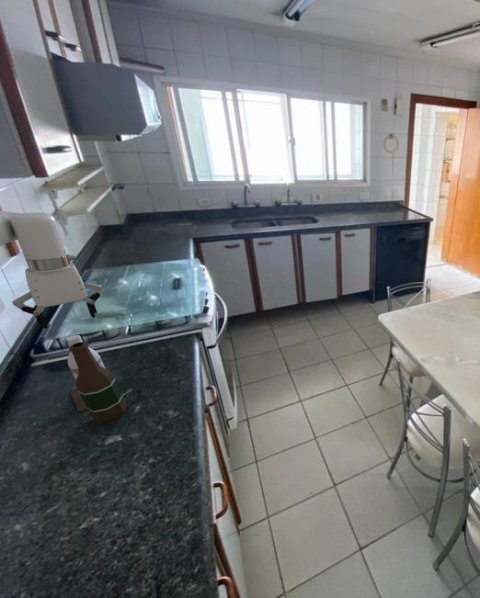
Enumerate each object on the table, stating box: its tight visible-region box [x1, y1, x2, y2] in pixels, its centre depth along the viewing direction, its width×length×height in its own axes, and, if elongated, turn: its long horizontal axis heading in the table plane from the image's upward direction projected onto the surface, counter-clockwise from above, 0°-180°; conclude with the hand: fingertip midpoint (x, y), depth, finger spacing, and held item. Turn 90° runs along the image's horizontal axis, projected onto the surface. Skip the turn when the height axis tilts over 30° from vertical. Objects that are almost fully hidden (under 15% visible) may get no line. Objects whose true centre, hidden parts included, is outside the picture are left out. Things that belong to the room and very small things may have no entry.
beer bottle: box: [68, 341, 128, 424], centre depth 90 cm, size 8×8×24 cm
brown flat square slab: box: [70, 375, 117, 413], centre depth 102 cm, size 12×12×1 cm
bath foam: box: [65, 334, 106, 381], centre depth 98 cm, size 7×7×20 cm
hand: (70, 320), depth 91 cm, fingers open, 9 cm apart
